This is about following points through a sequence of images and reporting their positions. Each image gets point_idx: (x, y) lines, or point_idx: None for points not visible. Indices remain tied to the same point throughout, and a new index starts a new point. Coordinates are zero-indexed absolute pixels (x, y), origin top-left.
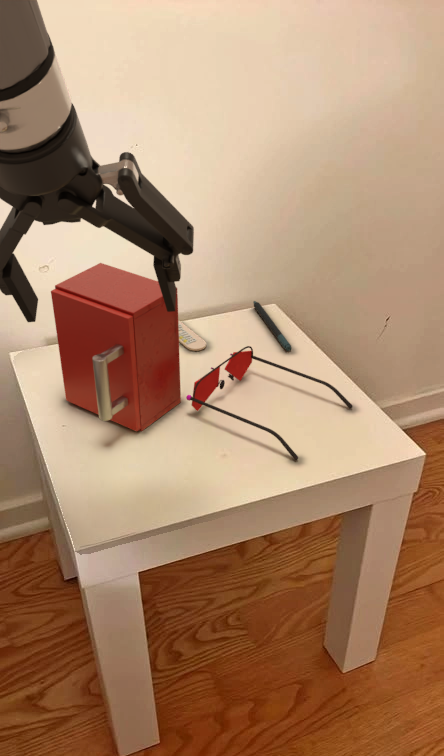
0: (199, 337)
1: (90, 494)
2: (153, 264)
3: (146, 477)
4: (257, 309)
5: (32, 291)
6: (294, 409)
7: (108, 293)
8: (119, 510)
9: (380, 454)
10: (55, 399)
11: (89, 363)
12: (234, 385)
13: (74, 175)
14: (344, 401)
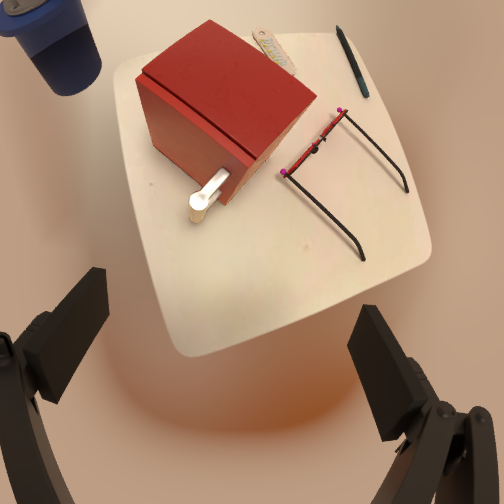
0: (290, 59)
1: (181, 297)
2: (383, 440)
3: (233, 275)
4: (340, 36)
5: (93, 290)
6: (368, 184)
7: (219, 95)
8: (209, 321)
9: (416, 255)
10: (142, 138)
11: (181, 149)
12: (320, 136)
13: None
14: (406, 188)
